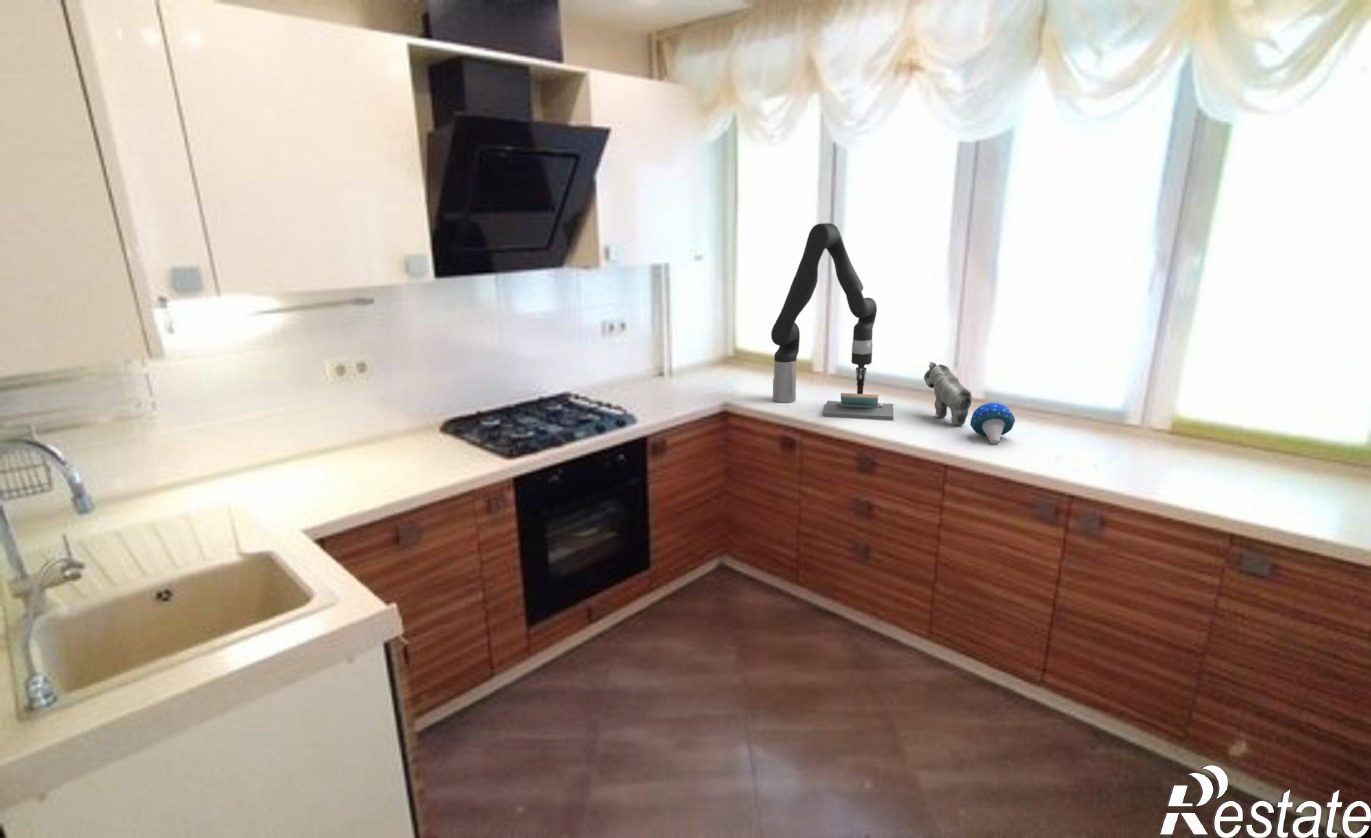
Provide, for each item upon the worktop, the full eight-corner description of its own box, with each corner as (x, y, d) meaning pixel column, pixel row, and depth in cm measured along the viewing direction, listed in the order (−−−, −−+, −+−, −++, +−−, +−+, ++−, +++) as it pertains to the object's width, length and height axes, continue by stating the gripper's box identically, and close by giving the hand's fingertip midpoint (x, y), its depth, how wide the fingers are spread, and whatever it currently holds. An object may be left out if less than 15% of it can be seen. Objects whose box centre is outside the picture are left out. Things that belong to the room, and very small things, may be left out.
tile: (841, 401, 267) (841, 405, 267) (840, 393, 258) (840, 396, 257) (877, 403, 263) (877, 406, 263) (878, 394, 254) (878, 398, 254)
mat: (823, 416, 258) (823, 408, 257) (827, 404, 275) (827, 396, 274) (893, 420, 251) (893, 412, 250) (892, 407, 268) (893, 399, 267)
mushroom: (984, 426, 217) (979, 390, 225) (964, 449, 228) (961, 414, 237) (1026, 434, 216) (1020, 398, 225) (1005, 457, 228) (1000, 422, 237)
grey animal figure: (974, 426, 241) (980, 372, 235) (953, 429, 239) (958, 375, 233) (933, 408, 264) (937, 359, 258) (913, 410, 262) (917, 361, 256)
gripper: (852, 347, 260) (850, 390, 265) (851, 354, 248) (849, 399, 253) (872, 348, 258) (870, 391, 263) (872, 354, 246) (869, 399, 251)
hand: (859, 395), depth 258 cm, fingers closed
